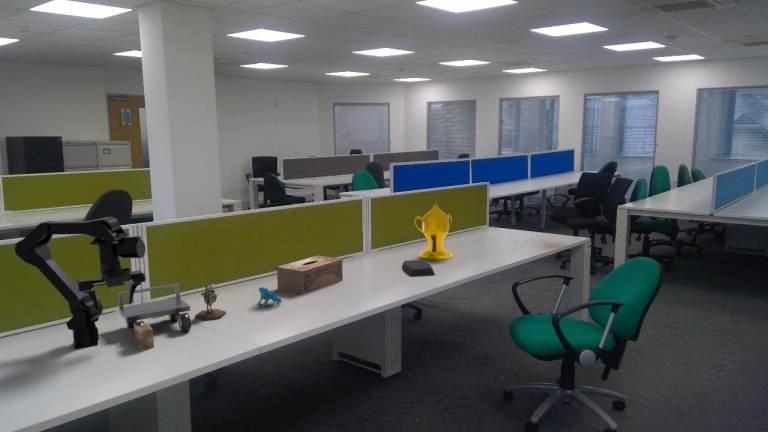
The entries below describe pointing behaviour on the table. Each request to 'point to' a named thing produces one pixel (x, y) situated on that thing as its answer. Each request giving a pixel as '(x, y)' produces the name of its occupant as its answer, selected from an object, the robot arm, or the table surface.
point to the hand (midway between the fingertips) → (113, 307)
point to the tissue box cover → (309, 274)
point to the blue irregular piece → (268, 296)
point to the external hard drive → (417, 268)
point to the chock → (144, 337)
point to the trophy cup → (435, 233)
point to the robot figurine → (209, 300)
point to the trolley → (156, 309)
